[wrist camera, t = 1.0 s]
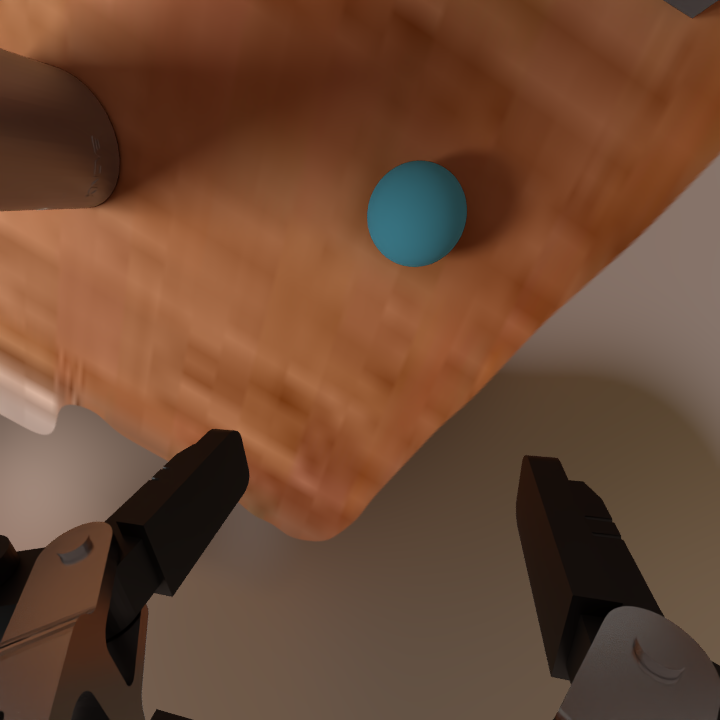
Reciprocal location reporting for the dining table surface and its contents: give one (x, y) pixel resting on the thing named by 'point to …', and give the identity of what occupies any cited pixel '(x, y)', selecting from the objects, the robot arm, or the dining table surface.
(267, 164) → the dining table surface
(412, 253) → the ball
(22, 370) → the dining table surface
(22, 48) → the dining table surface
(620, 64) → the dining table surface
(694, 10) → the bridge
